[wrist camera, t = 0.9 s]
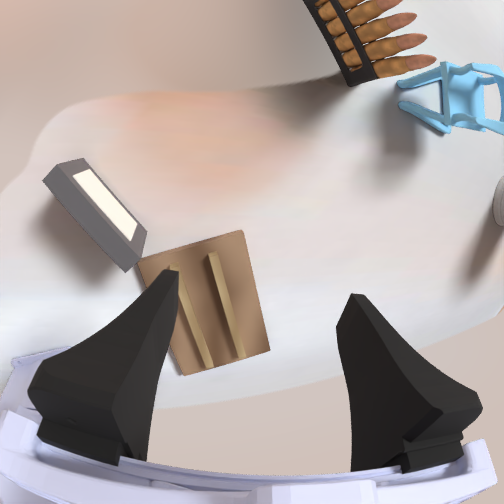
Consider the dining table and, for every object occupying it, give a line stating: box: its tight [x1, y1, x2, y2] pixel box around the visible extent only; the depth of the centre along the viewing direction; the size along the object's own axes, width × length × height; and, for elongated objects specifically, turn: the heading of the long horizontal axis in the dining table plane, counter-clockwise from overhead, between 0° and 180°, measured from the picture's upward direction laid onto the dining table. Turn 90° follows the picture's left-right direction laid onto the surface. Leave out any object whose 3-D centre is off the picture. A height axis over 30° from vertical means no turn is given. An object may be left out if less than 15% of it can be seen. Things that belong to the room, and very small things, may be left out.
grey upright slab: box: [42, 158, 147, 273], centre depth 23 cm, size 2×9×7 cm, turn 37°
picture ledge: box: [138, 230, 270, 376], centre depth 31 cm, size 10×14×2 cm
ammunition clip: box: [303, 0, 436, 87], centre depth 20 cm, size 11×2×12 cm, turn 28°
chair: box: [397, 61, 504, 135], centre depth 24 cm, size 8×8×12 cm
